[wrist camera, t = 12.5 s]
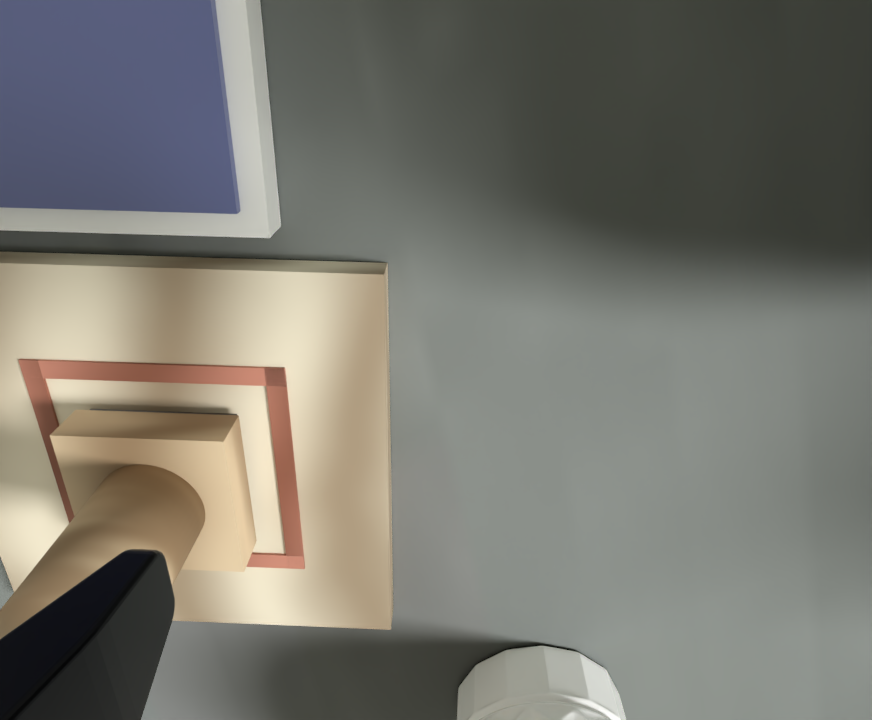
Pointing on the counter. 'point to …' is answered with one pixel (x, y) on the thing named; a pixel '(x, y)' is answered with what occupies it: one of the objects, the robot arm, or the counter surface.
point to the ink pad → (136, 118)
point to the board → (215, 393)
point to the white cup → (538, 688)
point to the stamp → (143, 499)
